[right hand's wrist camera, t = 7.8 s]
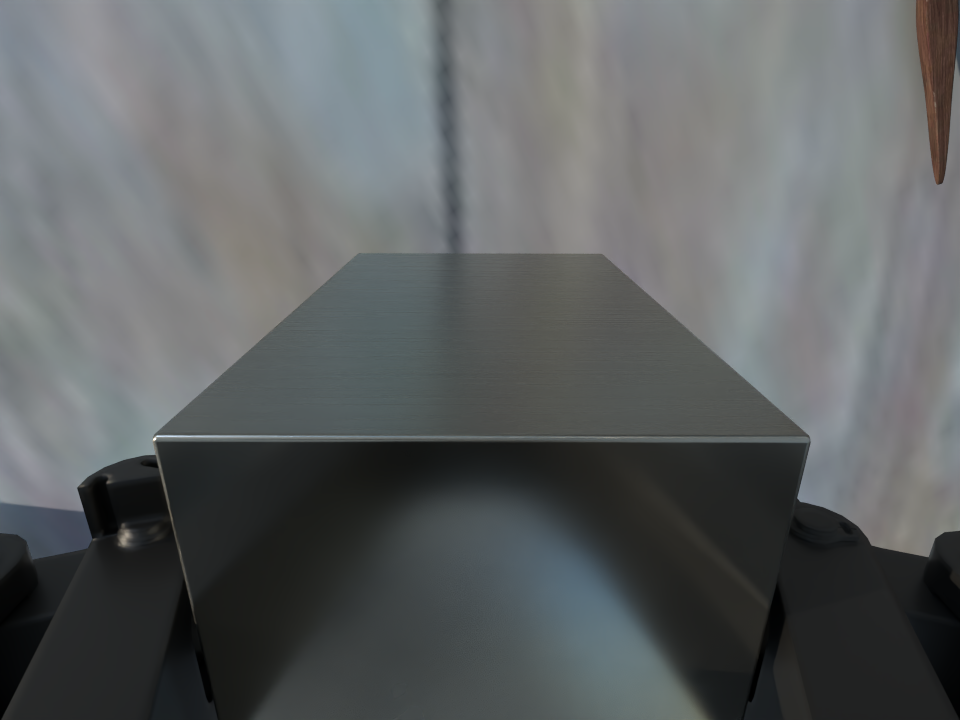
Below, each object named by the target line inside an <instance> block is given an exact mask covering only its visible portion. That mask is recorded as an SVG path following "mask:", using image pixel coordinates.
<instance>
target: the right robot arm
mask: <svg viewBox="0 0 960 720" xmlns="http://www.w3.org/2000/svg"><path fill="white" fill-rule="evenodd" d="M77 489H78V492H79V495H80V499H81V502H82V505H83V509H84V512H85V515H86V519H87V522H88V525H89V529H90V532H91V535H92V538H93V539H92V541H91V543H90V545H89V547H88V549H84V550H80V551H75V552H70V553H65V554H60V555H55V556H49V557H44V558H39V559H34V560H33V559H32V556H31V554H30V551H29V548H28V545H27V542H26V541H25V540H24V539H22V538H21V537H19V536H18V535H13V534H2V533H0V720H218V719H217V714H216V710H215V706H214V702H213V697H212V693H211V689H210V684H209V680H208V676H207V672H206V667H205V663H204V659H203V654H202V650H201V646H200V642H199V637H198V633H197V629H196V625H195V620H194V616H193V612H192V607H191V603H190V599H189V595H188V590H187V586H186V582H185V577H184V573H183V569H182V565H181V560H180V556H179V552H178V547H177V543H176V539H175V535H174V530H173V526H172V522H171V517H170V513H169V509H168V505H167V500H166V496H165V492H164V487H163V483H162V479H161V475H160V470H159V466H158V462H157V457H156V455H145V456H140V457H136V458H131V459H126V460H123V461H120V462H118V463H115V464H112V465H110V466H107V467H104V468H103V469H101V470H99V471H97V472H96V473H94V474H92V475H91V476H89V477H87V478H86V479H85V480H84V481H83V482H82V484H81V485H80V486H79V487H78V488H77ZM744 720H960V531H954V532H944V533H943V534H941V535H940V536H938V537H937V538H935V541H934V544H933V547H932V549H931V552H930V555H929V557H924V556H919V555H914V554H909V553H903V552H898V551H893V550H888V549H883V548H879V547H875V546H871V544H870V542H869V540H868V538H867V537H866V536H865V535H864V533H863V532H862V531H861V530H860V528H859V527H858V526H856V525H855V524H854V523H852V522H851V521H849V520H848V519H846V518H845V517H843V516H842V515H839V514H837V513H835V512H833V511H830V510H828V509H826V508H823V507H820V506H816V505H812V504H808V503H804V502H800V501H799V500H798V499H797V500H796V505H795V509H794V513H793V517H792V521H791V525H790V529H789V534H788V538H787V542H786V546H785V550H784V554H783V558H782V563H781V567H780V571H779V575H778V579H777V583H776V587H775V592H774V596H773V600H772V604H771V608H770V612H769V616H768V621H767V625H766V629H765V633H764V637H763V641H762V645H761V650H760V654H759V658H758V662H757V666H756V670H755V674H754V679H753V683H752V687H751V691H750V695H749V699H748V704H747V708H746V712H745V716H744Z"/></svg>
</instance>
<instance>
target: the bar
mask: <svg viewBox="0 0 960 720" xmlns="http://www.w3.org/2000/svg"><path fill="white" fill-rule="evenodd" d="M153 445H154V449H155V453H156V457H157V462H158V466H159V470H160V475H161V479H162V483H163V487H164V492H165V496H166V500H167V505H168V509H169V513H170V517H171V522H172V526H173V530H174V535H175V539H176V543H177V547H178V552H179V556H180V560H181V565H182V569H183V573H184V577H185V582H186V586H187V590H188V595H189V599H190V603H191V607H192V612H193V616H194V620H195V625H196V629H197V633H198V637H199V642H200V646H201V650H202V654H203V659H204V663H205V667H206V672H207V676H208V680H209V684H210V689H211V693H212V697H213V702H214V706H215V710H216V714H217V719H218V720H744V716H745V712H746V708H747V704H748V699H749V695H750V691H751V687H752V683H753V679H754V674H755V670H756V666H757V662H758V658H759V654H760V650H761V645H762V641H763V637H764V633H765V629H766V625H767V621H768V616H769V612H770V608H771V604H772V600H773V596H774V592H775V587H776V583H777V579H778V575H779V571H780V567H781V563H782V558H783V554H784V550H785V546H786V542H787V538H788V534H789V529H790V525H791V521H792V517H793V513H794V509H795V505H796V500H797V496H798V492H799V488H800V484H801V480H802V476H803V471H804V467H805V463H806V459H807V455H808V451H809V447H810V437H809V435H808V434H807V433H805V432H804V431H803V430H802V429H801V428H800V427H799V426H797V425H796V424H795V423H794V422H793V421H792V420H791V419H789V418H788V417H787V416H786V415H785V414H784V413H783V412H782V411H780V410H779V409H778V408H777V407H776V406H775V405H774V404H772V403H771V402H770V401H769V400H768V399H767V398H766V397H764V396H763V395H762V394H761V393H760V392H759V391H758V390H756V389H755V388H754V387H753V386H752V385H751V384H750V383H748V382H747V381H746V380H745V379H744V378H743V377H742V376H741V375H739V374H738V373H737V372H736V371H735V370H734V369H733V368H731V367H730V366H729V365H728V364H727V363H726V362H725V361H723V360H722V359H721V358H720V357H719V356H718V355H717V354H715V353H714V352H713V351H712V350H711V349H710V348H709V347H707V346H706V345H705V344H704V343H703V342H702V341H701V340H699V339H698V338H697V337H696V336H695V335H694V334H693V333H692V332H690V331H689V330H688V329H687V328H686V327H685V326H684V325H682V324H681V323H680V322H679V321H678V320H677V319H676V318H674V317H673V316H672V315H671V314H670V313H669V312H668V311H666V310H665V309H664V308H663V307H662V306H661V305H660V304H658V303H657V302H656V301H655V300H654V299H653V298H652V297H651V296H649V295H648V294H647V293H646V292H645V291H644V290H643V289H641V288H640V287H639V286H638V285H637V284H636V283H635V282H633V281H632V280H631V279H630V278H629V277H628V276H627V275H625V274H624V273H623V272H622V271H621V270H620V269H619V268H617V267H616V266H615V265H614V264H613V263H612V262H611V261H609V260H608V259H607V258H606V257H605V256H604V255H602V254H402V253H359V254H357V255H356V256H355V257H354V258H353V259H352V260H351V261H349V262H348V263H347V264H346V265H345V266H344V267H343V268H342V269H340V270H339V271H338V272H337V273H336V274H335V275H334V276H333V277H331V278H330V279H329V280H328V281H327V282H326V283H325V284H323V285H322V286H321V287H320V288H319V289H318V290H317V291H316V292H314V293H313V294H312V295H311V296H310V297H309V298H308V299H307V300H305V301H304V302H303V303H302V304H301V305H300V306H299V307H298V308H296V309H295V310H294V311H293V312H292V313H291V314H290V315H289V316H287V317H286V318H285V319H284V320H283V321H282V322H281V323H280V324H278V325H277V326H276V327H275V328H274V329H273V330H272V331H271V332H269V333H268V334H267V335H266V336H265V337H264V338H263V339H261V340H260V341H259V342H258V343H257V344H256V345H255V346H254V347H252V348H251V349H250V350H249V351H248V352H247V353H246V354H245V355H243V356H242V357H241V358H240V359H239V360H238V361H237V362H236V363H234V364H233V365H232V366H231V367H230V368H229V369H228V370H227V371H225V372H224V373H223V374H222V375H221V376H220V377H219V378H218V379H216V380H215V381H214V382H213V383H212V384H211V385H210V386H209V387H207V388H206V389H205V390H204V391H203V392H202V393H201V394H199V395H198V396H197V397H196V398H195V399H194V400H193V401H192V402H190V403H189V404H188V405H187V406H186V407H185V408H184V409H183V410H181V411H180V412H179V413H178V414H177V415H176V416H175V417H174V418H172V419H171V420H170V421H169V422H168V423H167V424H166V425H165V426H163V427H162V428H161V429H160V430H159V431H158V432H157V433H156V434H154V437H153Z"/></svg>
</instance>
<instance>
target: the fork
mask: <svg viewBox="0 0 960 720" xmlns="http://www.w3.org/2000/svg"><path fill="white" fill-rule="evenodd" d="M958 17H959V8H958V0H916V27H917V39H918V47H919V55H920V62H921V69H922V76H923V83H924V91H925V99H926V108H927V118H928V129H929V140H930V150H931V158H932V165H933V172H934V177H935V181H936V184H937V185H938V184H942V183H943V180H944V176H945V170H946V162H947V153H948V142H949V129H950V116H951V102H952V90H953V79H954V69H955V58H956V48H957V36H958Z"/></svg>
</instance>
